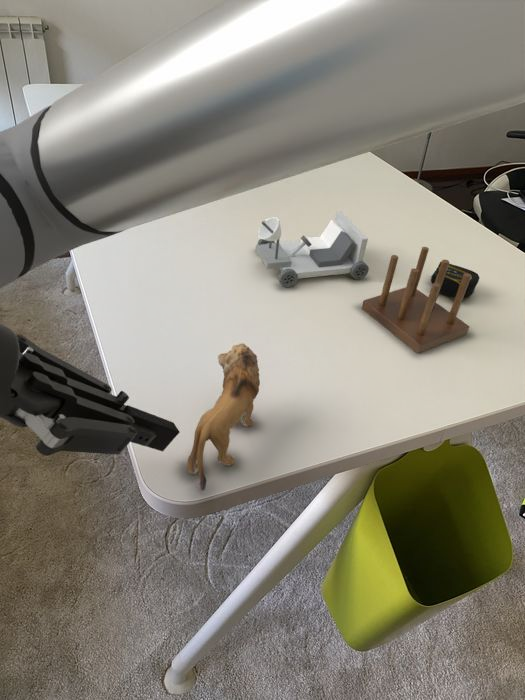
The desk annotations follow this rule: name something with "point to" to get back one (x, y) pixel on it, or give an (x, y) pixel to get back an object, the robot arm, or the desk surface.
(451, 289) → the tape measure
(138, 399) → the desk surface
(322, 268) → the toy car
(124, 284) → the desk surface
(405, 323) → the walnut rack
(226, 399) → the lion figurine
